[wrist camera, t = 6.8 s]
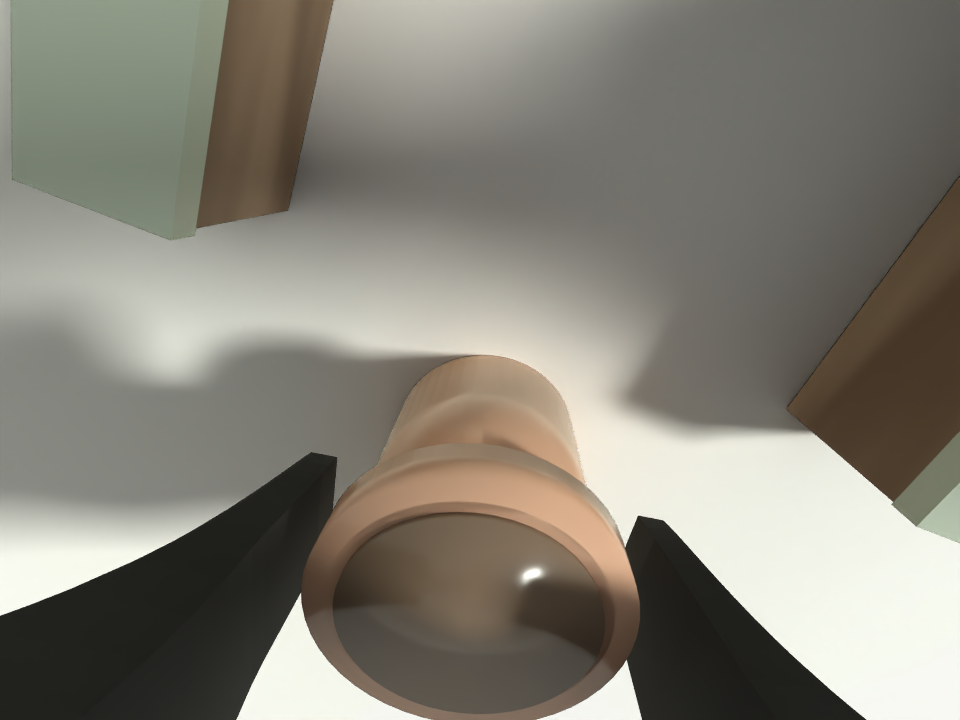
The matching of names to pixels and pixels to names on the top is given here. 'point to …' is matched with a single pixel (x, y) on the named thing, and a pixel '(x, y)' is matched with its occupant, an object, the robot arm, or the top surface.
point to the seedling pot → (474, 557)
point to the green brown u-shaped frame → (273, 164)
